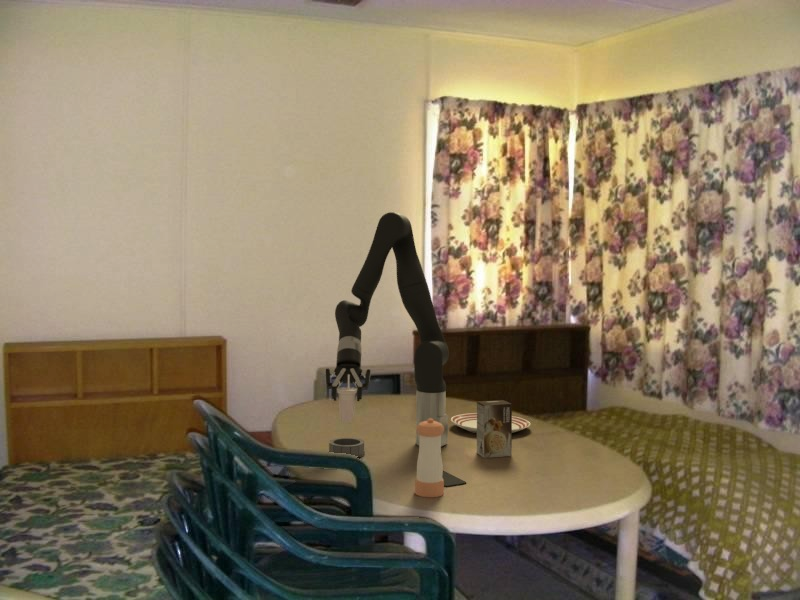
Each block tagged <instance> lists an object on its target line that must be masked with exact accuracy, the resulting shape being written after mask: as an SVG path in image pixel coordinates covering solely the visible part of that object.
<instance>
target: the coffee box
mask: <svg viewBox="0 0 800 600" xmlns="http://www.w3.org/2000/svg"><path fill="white" fill-rule="evenodd" d="M476 413H477V433H476V454H478V455H480V456H481V458H484V459H489V458H490V459H491V458H500V457H502V458H503V457H504V458H505V457H511V456H512V453H513V449H512V446H513V445H512V444H513V443H512V441H513V440H512V437H513V433H512V416H513V403H510V402H509V401H506V400H503V399H501V400H500V399H498V400H482V401H478V400H477V401H476Z"/></svg>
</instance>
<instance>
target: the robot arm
mask: <svg viewBox="0 0 800 600" xmlns="http://www.w3.org/2000/svg"><path fill="white" fill-rule="evenodd" d="M413 233H414V232H413V228H412V224H411V221H410V220H409V218H408V217H407V216H406V215H404V214H402V213H398V212H396V211H395V212H394V211H393V212H391V211H389V212H385V214H384V213H383V215H382V216H381V217H380V219H379V220H378V223H377V227H376V230H375V232H374V236H373V239H372V242H371V245H370V247H369V250H368V253H367V255H366V258H365V260H364V262H363V265H362V267H361V269H360V271H359V273H358V275H357V277H356V279H355V282H354V283H353V285H352V287H351V289H350V291H351V294H352V295H353V296H354V297H355V298H357V299H358V300H360V301H359V302H360V303H359V304H356V303H355V302H351V301H349V300H347V299H345V300H341V301H340V302H338V303H337V304H336V307H335V310H334V317H335V322H336V326H337V330H338V332H339V333H338V344H337V348H336V349H337V350H336V351H337V353H336V365H335V368H334V369H330V368H325V382H326V384H325V385H326V389H327V390H331V399H332V400H333V401H334V402H336V401H337V400H338V393H337V388H340V387H341V386H342V384H348V374H349V375H350V384H353V385H354V386H355V388H357V394H356V402H360V400H362V399H363V391H364V390H366V391H367V390H369V386H370V379H371V376H372V375H371V374H372V373H371V371H372V370H371V369H366V370H363V369H362V329H361V328H362V326H364V325H365V323H366V322H367V320H368V316H369V311H370V306H371V301H372V298H373V296H374V294H375V291H376V289H377V288H378V285H379V283H380V282H381V278H382V275H383V271H384V267H385V264H386V261H387V258H388V257H389V253H390V252H391V250H393V251H392V252H393V255H394V257H395V264H396V283H397V287H398V292H399V296H400V298H401V301H402V304H403V307H404V308H405V311H406V312H407V313H408V315H409V317H410V319H411V320H412V322H413V323H414V325H415V327H416V329H417V330H416V331H417V333H418V336H419V341H420V343H419V344H418V345H417V346H416V349H415V350H414V359H413V360H414V361H413V362H414V363H413V364H414V365H413V366H414V370H413V372H414V381H415V385H416V398H415V399H416V404H415V406H416V407H415V409H416V414H415V415H416V416H415V445H417V446H418V447H419V438H420V435H419V434H418V433H417V430H416V429H417V426H418V424H419V423H421V422H423V421H427V420H428V419H429V418H431V419H433V420H434V421H437V422H439V423H441V424H442V425H443V427H444V433H443V434H442V435H441V448H442V447H443V446H445V445H447V444H448V429H449V428H448V425H449V424H448V423H449V419H448V418H449V415H448V414H447V413H446V402H447V401H446V398H447V397H446V390H447V383H446V381H445V380H444V378H443V376H444V375H443V369H444V368H443V366H444V365H445V364H447V362H448V360H449V357H450V356H449V355H450V352H449V351H450V350H449V347H448V344H447V342H446V339H445V337H444V335H443V332H442V330H441V327H440V325H439V322H438V319H437V315H436V311H435V306H434V303H433V301H432V297H431V292H430V289H429V285H428V282H427V279H426V276H425V273H424V270H423V267H422V263H421V261H420V258H419V255H418V252H417V249H416V243H415V239H414V234H413ZM334 375H335V380H334V381H333V383H332V382H331V379H332V378H333V376H334ZM362 375H363V378H364V383H362V382H361V380H360V377H361V376H362Z"/></svg>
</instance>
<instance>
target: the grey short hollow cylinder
mask: <svg viewBox="0 0 800 600" xmlns="http://www.w3.org/2000/svg"><path fill="white" fill-rule="evenodd" d="M328 442H329V443H328V453H329V452H334V453H346V454H351V455H355V456H358V457H360V458H363V457H365V456H366V452H365V451H366V450H365V440H363V439H361V438H357V437H339V438H332V439H331V440H329V441H328Z"/></svg>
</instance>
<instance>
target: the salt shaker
mask: <svg viewBox="0 0 800 600" xmlns="http://www.w3.org/2000/svg"><path fill="white" fill-rule="evenodd" d="M416 430H417V433H418V434H419V435H420V438H419V446H418V455H417V462H416V478H415V479H414V480H415V481H414V487H415V489H414V491H415V492H414V493H415V494H416V495H417V496H419V497H422V498H438V497H441V496H443V495H444V494H445V493H444V490H445V489H444V488H445V487H444V480H443V478H442V474H443V471H444V470H443V469H444V468H443V467H444V466H443V459H442V458H443V456H442V452H441V450H442V447H441V435H442V434H443V433H444V427H443V425H442V424H441V423H439V422H437V421H434V420H433V419H431V418H429V419H428V420H427V421H423V422H421V423H419V424H418V426H417V429H416V428H415V431H416Z"/></svg>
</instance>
